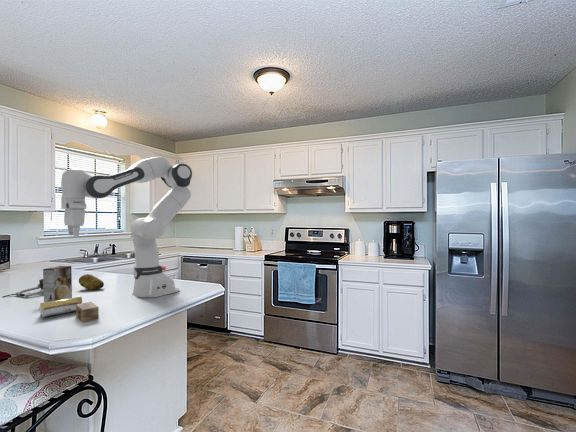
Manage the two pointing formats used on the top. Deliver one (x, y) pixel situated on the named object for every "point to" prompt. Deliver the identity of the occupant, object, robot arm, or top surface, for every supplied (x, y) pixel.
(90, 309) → the slotted wooden block
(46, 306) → the axle
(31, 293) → the bike brake
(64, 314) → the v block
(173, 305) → the top surface
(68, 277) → the coffee box
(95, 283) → the potato
